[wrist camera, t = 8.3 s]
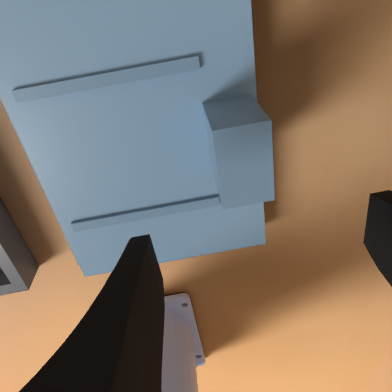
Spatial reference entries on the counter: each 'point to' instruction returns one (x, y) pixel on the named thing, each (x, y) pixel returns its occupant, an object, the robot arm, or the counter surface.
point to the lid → (141, 122)
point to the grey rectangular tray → (14, 257)
